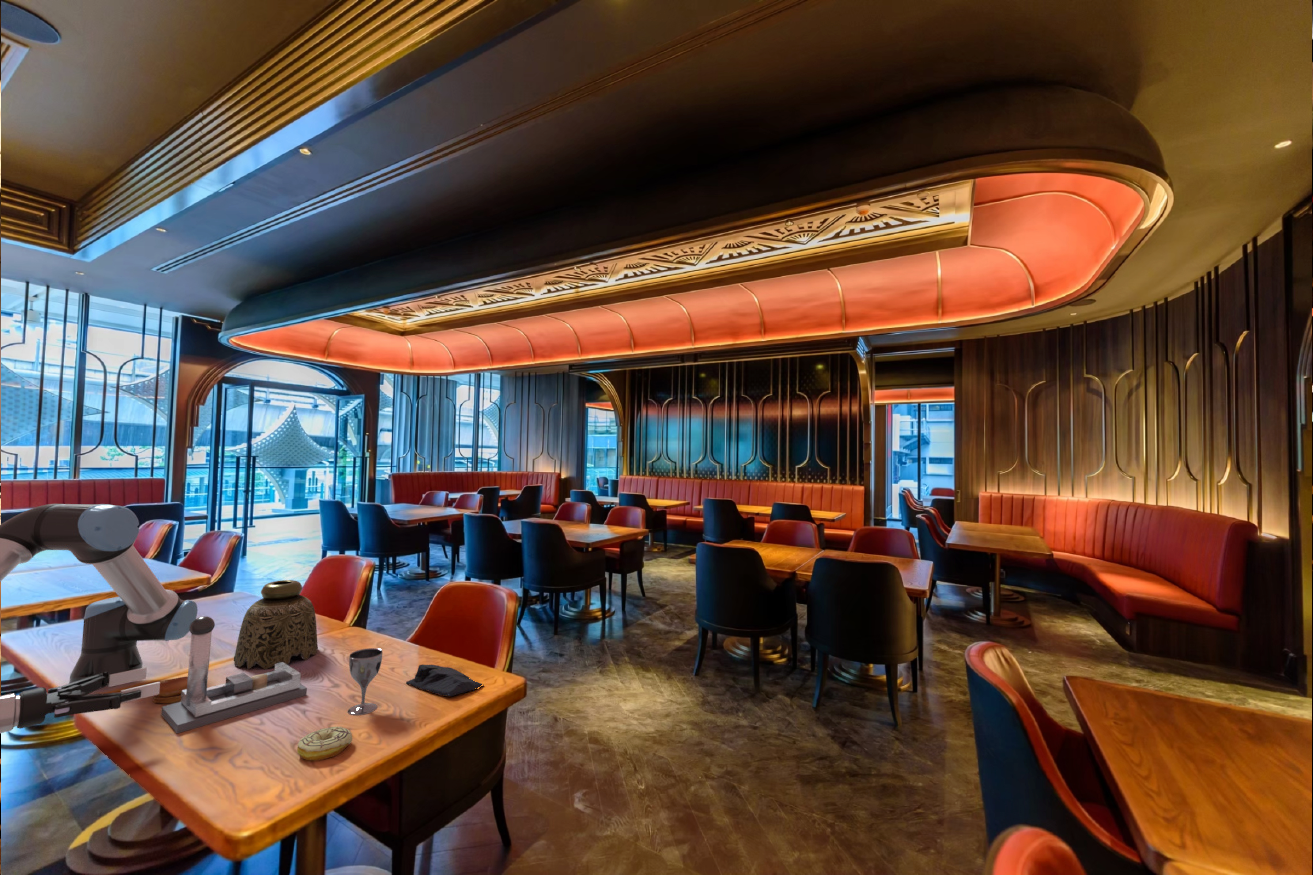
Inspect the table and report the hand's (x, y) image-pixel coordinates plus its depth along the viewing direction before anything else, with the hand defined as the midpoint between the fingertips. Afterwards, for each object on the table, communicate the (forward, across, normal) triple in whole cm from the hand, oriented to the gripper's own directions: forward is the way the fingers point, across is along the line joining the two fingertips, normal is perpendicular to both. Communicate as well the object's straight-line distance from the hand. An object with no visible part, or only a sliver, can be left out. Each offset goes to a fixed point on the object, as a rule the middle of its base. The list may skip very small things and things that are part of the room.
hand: (152, 680), depth 128 cm
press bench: (+18, 0, -12) cm, 21 cm away
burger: (+9, -18, -12) cm, 23 cm away
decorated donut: (+23, +42, -12) cm, 49 cm away
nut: (+22, 0, -10) cm, 24 cm away
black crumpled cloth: (+61, +30, -13) cm, 69 cm away
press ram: (+18, 0, -10) cm, 21 cm away
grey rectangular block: (+18, 0, -10) cm, 20 cm away
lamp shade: (+37, -32, -12) cm, 51 cm away
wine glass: (+38, +28, -12) cm, 49 cm away
